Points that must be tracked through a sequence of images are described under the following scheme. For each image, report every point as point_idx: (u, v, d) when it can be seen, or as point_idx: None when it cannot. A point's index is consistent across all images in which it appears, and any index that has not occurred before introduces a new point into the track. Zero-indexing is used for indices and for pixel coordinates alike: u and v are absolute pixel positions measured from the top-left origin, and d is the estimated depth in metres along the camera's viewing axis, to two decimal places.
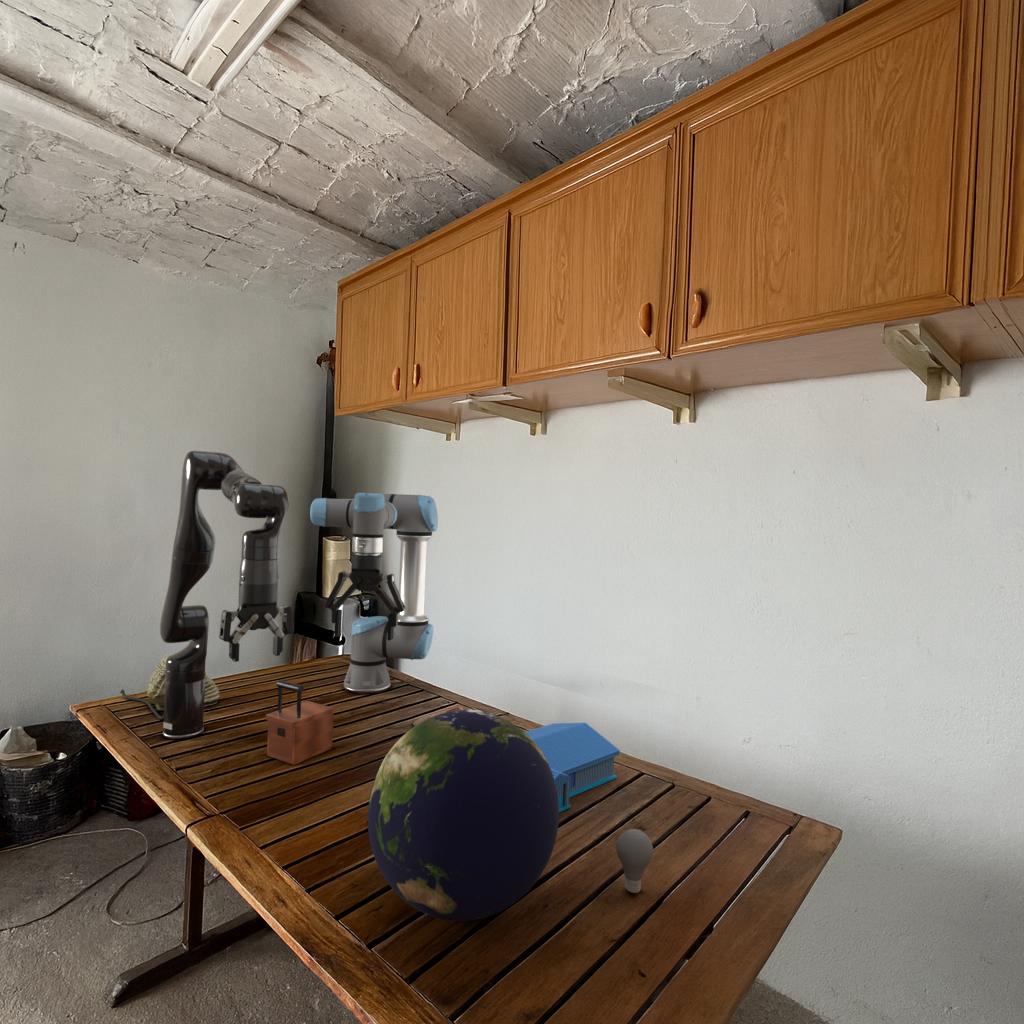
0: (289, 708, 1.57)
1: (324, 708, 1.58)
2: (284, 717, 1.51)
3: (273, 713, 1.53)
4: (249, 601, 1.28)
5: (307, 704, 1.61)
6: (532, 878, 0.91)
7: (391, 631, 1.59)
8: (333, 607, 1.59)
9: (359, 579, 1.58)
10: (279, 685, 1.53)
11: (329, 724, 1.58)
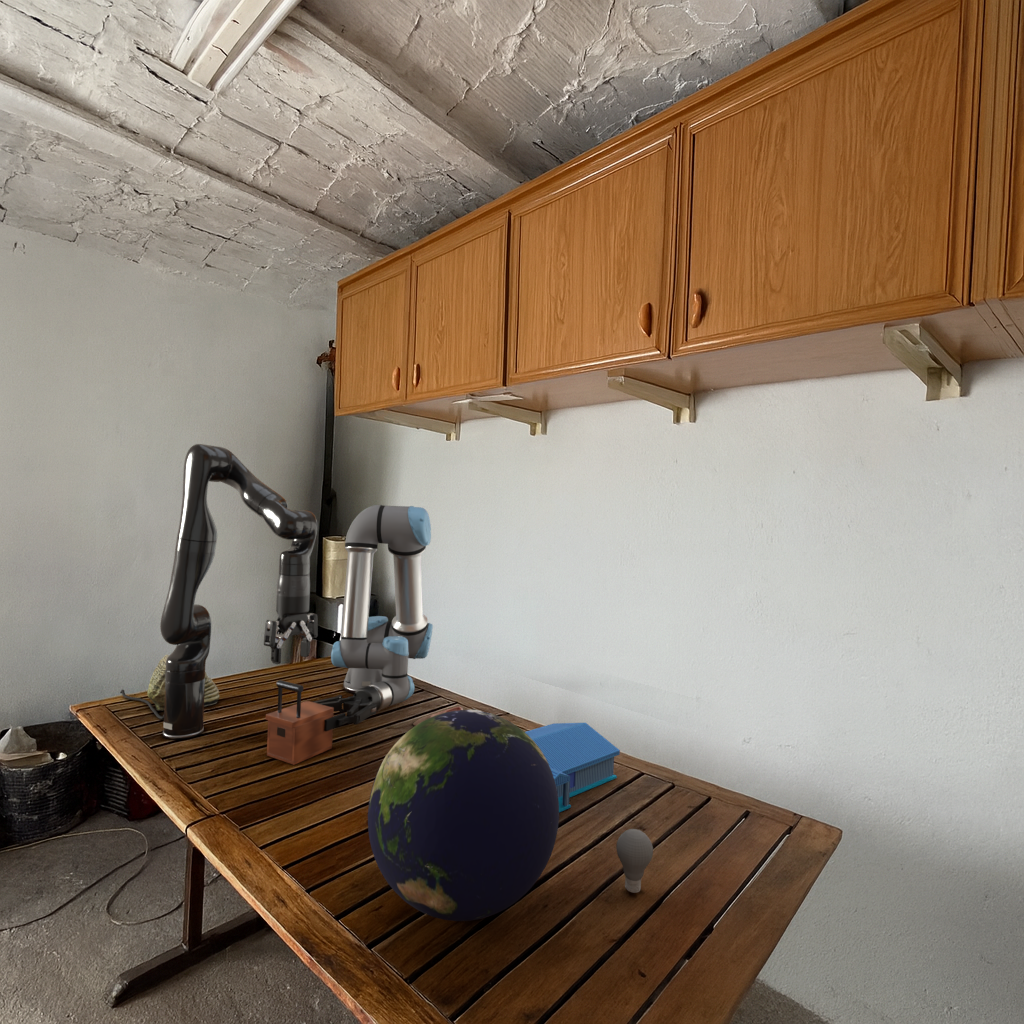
0: (289, 708, 1.57)
1: (323, 708, 1.58)
2: (284, 717, 1.51)
3: (273, 713, 1.53)
4: None
5: (306, 704, 1.61)
6: (532, 878, 0.91)
7: None
8: None
9: None
10: (279, 685, 1.53)
11: None
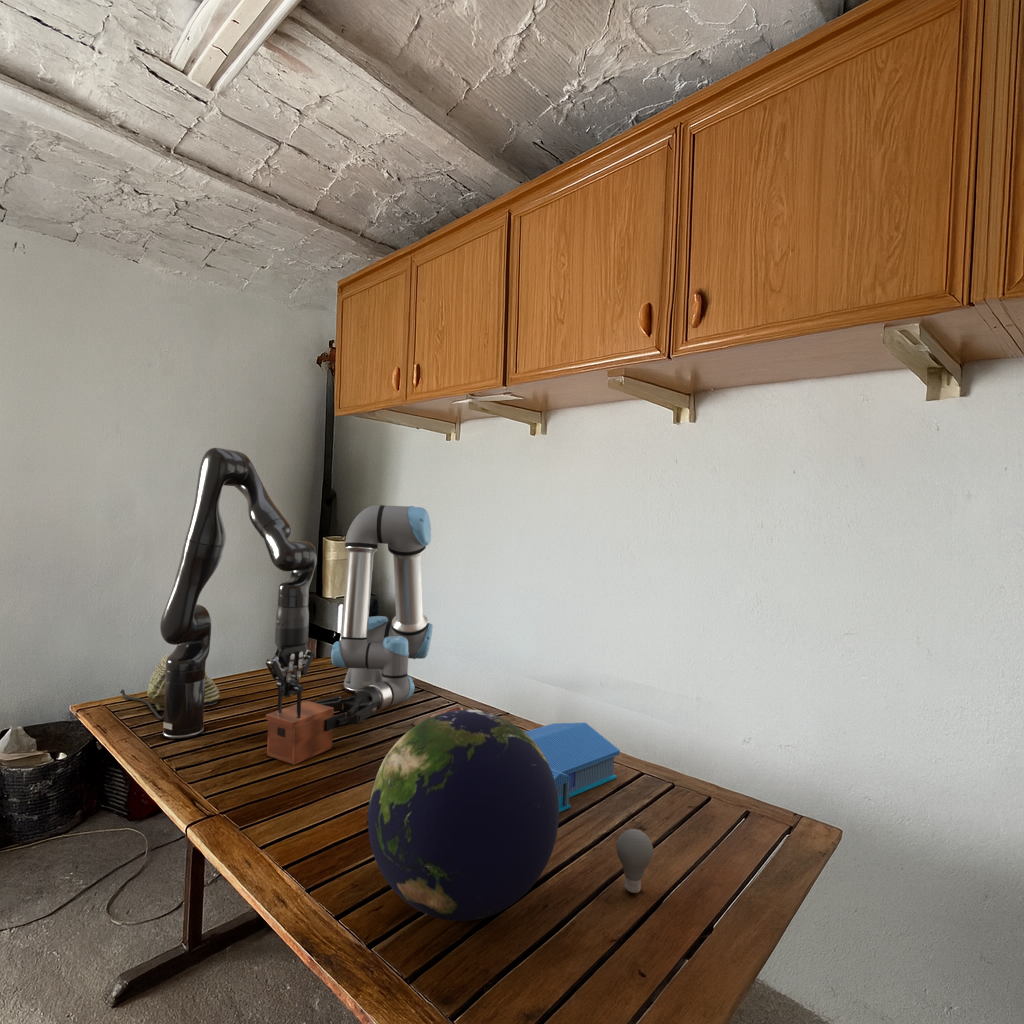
0: (289, 708, 1.57)
1: (323, 708, 1.58)
2: (284, 717, 1.51)
3: (273, 713, 1.53)
4: None
5: (306, 704, 1.61)
6: (532, 878, 0.91)
7: None
8: None
9: None
10: (279, 685, 1.53)
11: None
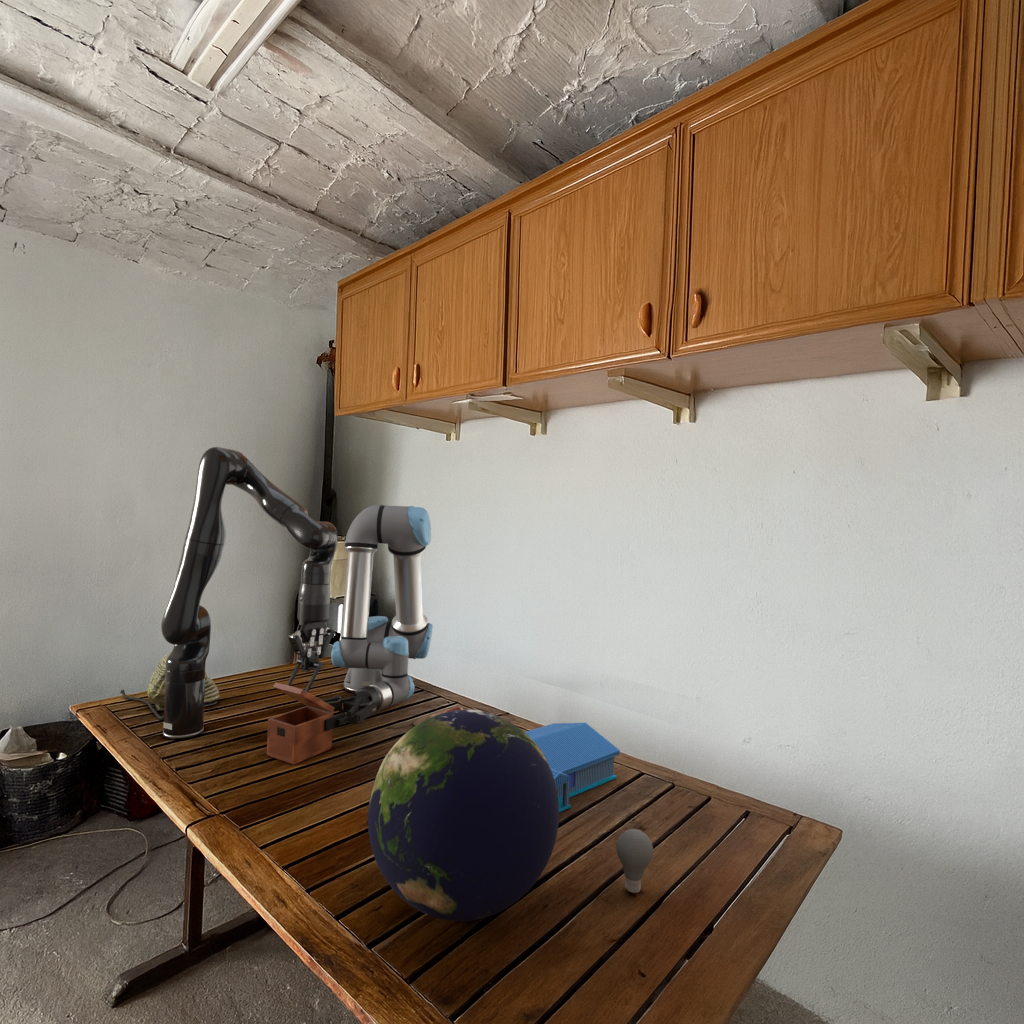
0: None
1: None
2: None
3: None
4: None
5: None
6: (532, 878, 0.91)
7: None
8: None
9: None
10: (299, 660, 1.59)
11: None
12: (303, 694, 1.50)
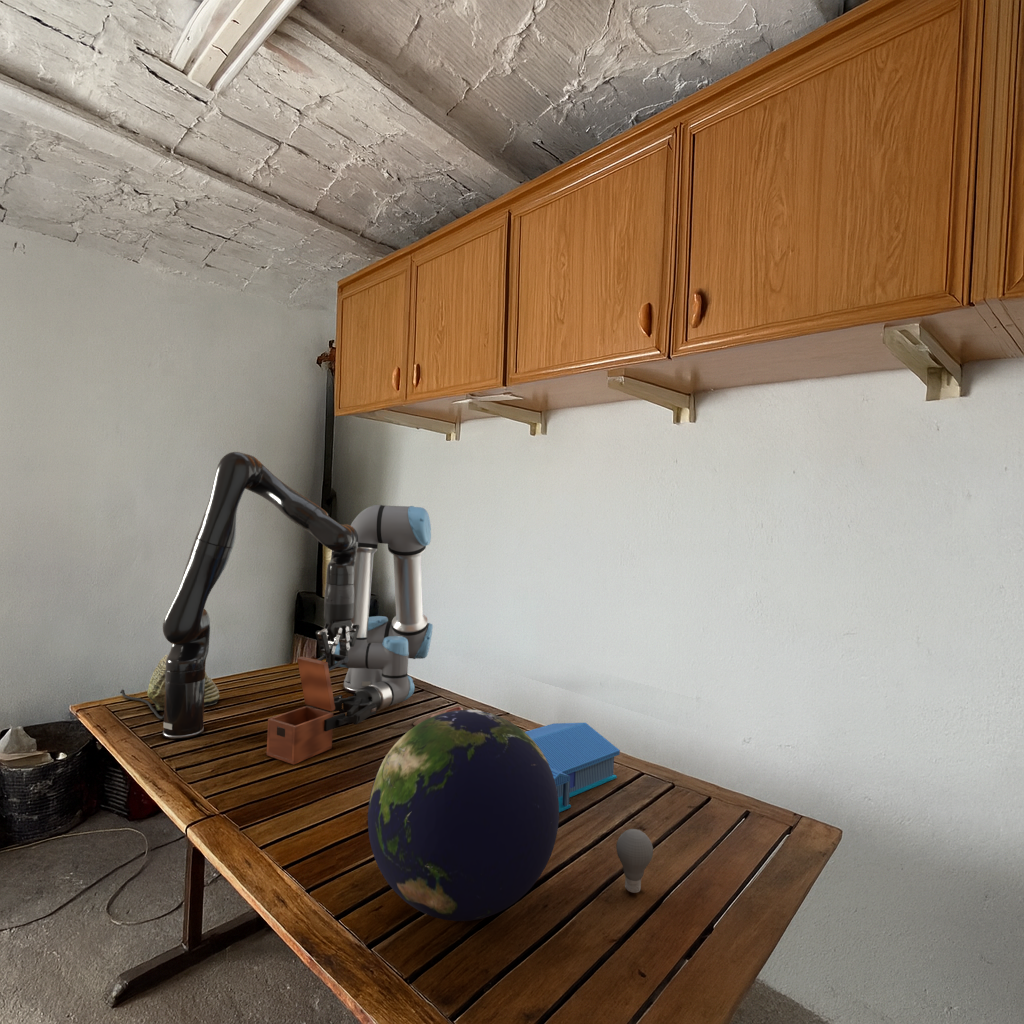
0: None
1: None
2: None
3: None
4: None
5: None
6: (532, 878, 0.91)
7: None
8: None
9: None
10: None
11: None
12: (325, 667, 1.56)
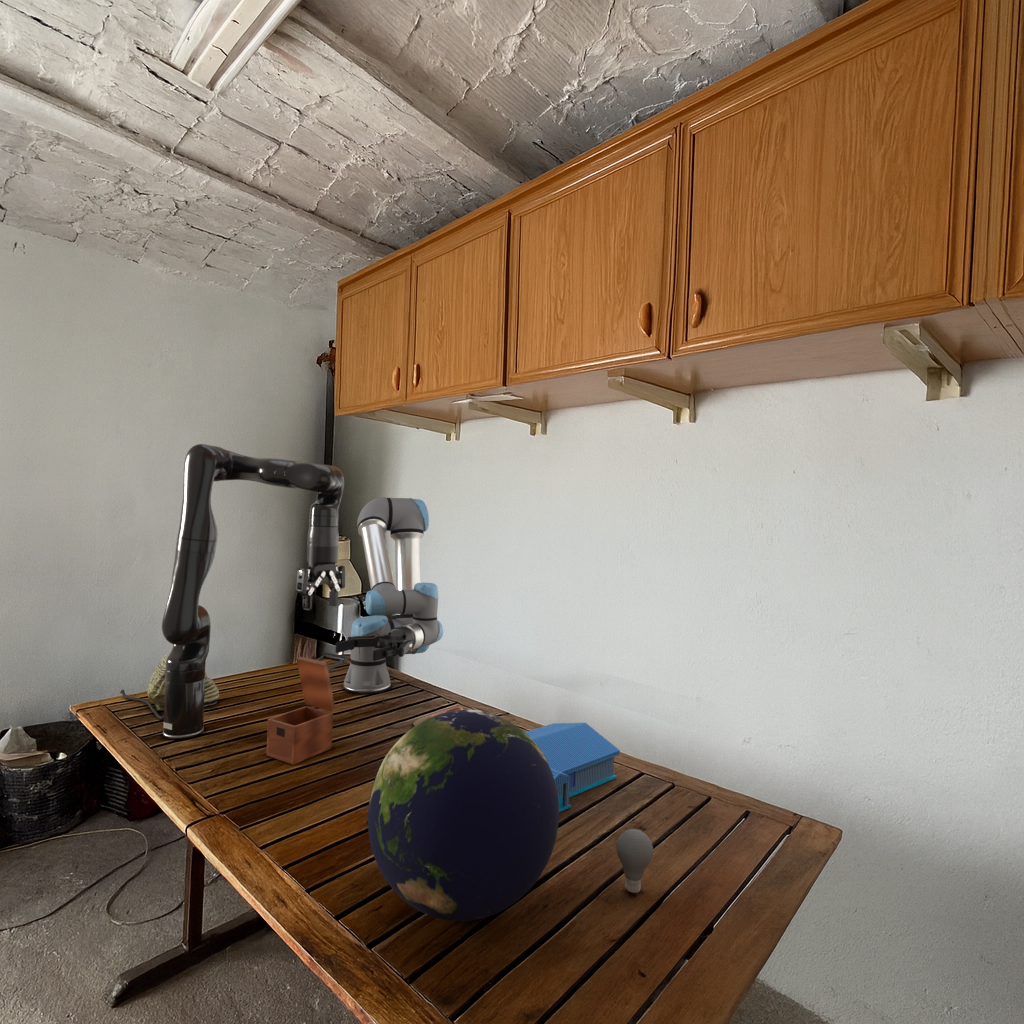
0: None
1: None
2: None
3: None
4: None
5: None
6: (532, 878, 0.91)
7: None
8: None
9: None
10: (326, 653, 1.66)
11: (328, 724, 1.58)
12: (324, 667, 1.56)
